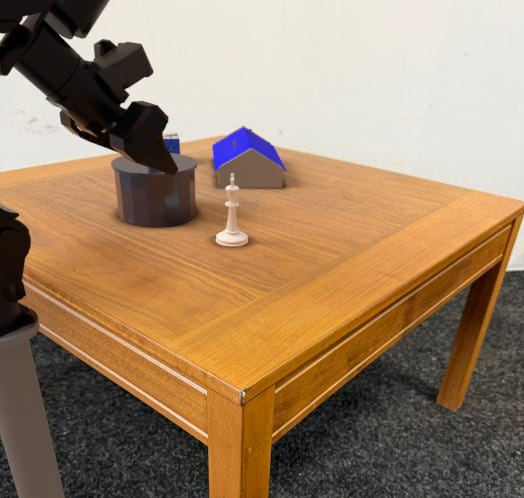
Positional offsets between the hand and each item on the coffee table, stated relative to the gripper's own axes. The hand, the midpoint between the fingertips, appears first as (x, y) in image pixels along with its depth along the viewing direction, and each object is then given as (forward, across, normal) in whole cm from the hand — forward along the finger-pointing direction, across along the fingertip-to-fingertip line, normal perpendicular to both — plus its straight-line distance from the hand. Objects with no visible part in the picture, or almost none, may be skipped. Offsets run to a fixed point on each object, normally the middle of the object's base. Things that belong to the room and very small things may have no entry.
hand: (157, 164), depth 72 cm
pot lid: (+9, +15, -2) cm, 18 cm away
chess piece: (+17, -2, +1) cm, 17 cm away
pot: (+14, +15, +3) cm, 21 cm away
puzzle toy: (+28, +44, -10) cm, 53 cm away
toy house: (+35, +28, -17) cm, 48 cm away
